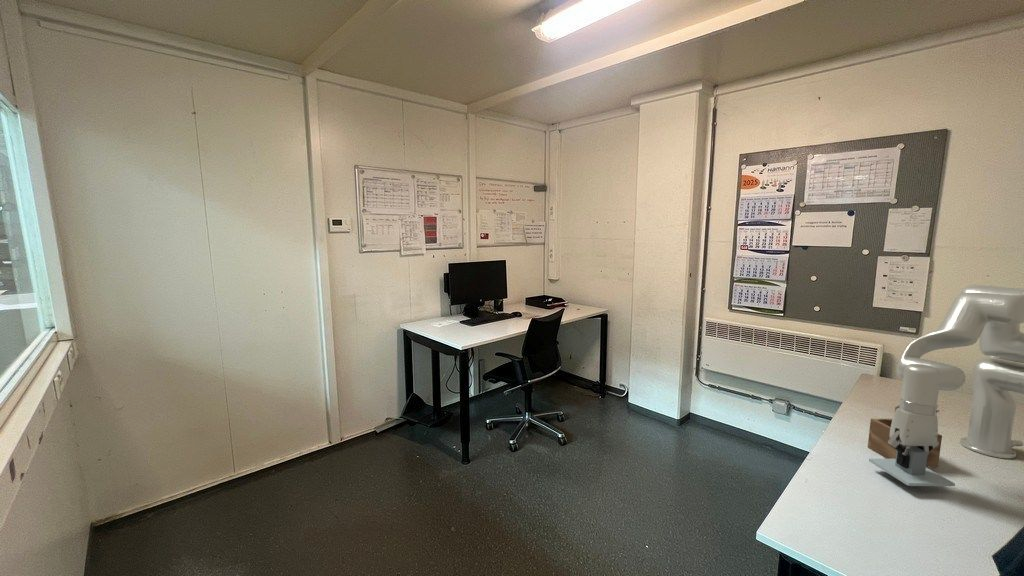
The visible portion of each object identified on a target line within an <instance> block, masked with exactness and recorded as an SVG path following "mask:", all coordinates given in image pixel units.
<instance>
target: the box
mask: <svg viewBox="0 0 1024 576" xmlns="http://www.w3.org/2000/svg"><path fill="white" fill-rule="evenodd" d="M892 419H893V418H870V423H869V431H868V441H867V448H868V449H869V450H871V451H872V452H875V453H876V454H878V455H879V456H881V457H883V458H884V459H896V454H897V451H896V449H895V448H894V447H893V446H892V445H890V444H889V443H888V440H889V439H890V428H891V423H892ZM942 438H943V435H942V434H939V433H938V435H937V441H938V443H939V445H938V446H936V447H934V448H933V449H932V450H931V451H930V452H929V455H928V456H927V462H926V468H929V467H930V468H939V463H940V462H939V461H940V455H941V454H940V453H941V447H942ZM897 443H898V442H897Z"/></svg>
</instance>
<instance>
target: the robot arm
mask: <svg viewBox="0 0 1024 576" xmlns="http://www.w3.org/2000/svg"><path fill="white" fill-rule="evenodd" d="M1023 323H1024V288H1020V287H1019V288H1018V287H1017V288H1015V287H1005V286H993V285H991V286H990V285H977V284H976V285H970V286H969V285H968V286H965V287H964V288H962V289H961V291H960V294H958V295H956V296H955V298H954V299H953V302H951V305H950V307H949V308H948V310H947V312H946V314H945V316H944V318H943V320H942V321H941V323H940V325H939V326H938V329H936V330H933V331H931V332H928V333H926V334H923V335H921V336H920V337H918V338H916V339H914V340H913V341H910V343H909V344H907V346H906V347H905V348H904V350H903V352H902V354H901V356H900V357H899V359H898V362H897V365H896V368H895V369H896V374H897V375H898V377H900V378H901V379H902V383H901V385H902V386H901V393H900V400H899V405H900V408H897V409H896V411H895V410H894V414H893V418H891V419H892V423H891V428H890V439H889V440H888V443H889V444H890V445H892V446H893V447H894V448H895V449H896V451H898V453H897V461H896V462H897V464H899V465H901V466H902V467H904V468H908V466H909V458H910V456H909V455H908V453H909V450H910V447H911V446H916V447H918V448H920V449H922V450H924V451H926V452H928V455H929V452H930V451H931V450H932V449H933V448H934V447H936V446H938V445H939V443H938V441H937V435H938V434H939V424H938V423H939V422H938V421H939V420H938V415H937V409H938V407H939V404H938V398H939V392H940V391H948V392H949V391H950V392H951V391H956V390H958V389H960V388H962V387H963V385H965V382H966V374H965V373H964V371H963V370H962V369H961V368H959V367H958V366H955V365H952V364H948V363H944V362H937V361H934V360H931V359H930V360H929V359H925V358H921V357H922V356H924V355H926V354H928V353H930V352H933V351H937V350H944V349H952V348H953V349H954V348H961V347H962V348H964V347H968V346H973V345H974V344H976V343H977V341H978V345H979V346H978V347H979V350H980V352H981V354H982V355H984V356H986V357H988V358H981V359H978V360H977V361H976V362H975V363H974V364H973V366H972V376H973V377H972V379H973V396H972V401H971V409H970V416H969V422H968V423H969V424H968V431H967V436H966V437H962V438H960V439H959V440H960V441H959V443H960V444H961V446H963V447H965V448H967V449H968V450H970V451H974V452H976V453H979V454H982V455H985V456H989V457H994V458H999V459H1015V458H1016V457H1017V452H1016V451H1015V450H1014V449H1013V448H1014V447H1023V446H1024V443H1023V441H1021V440H1018V439H1016V440H1015V439H1012V436H1013V431H1014V429H1013V428H1014V424H1015V423H1014V422H1015V416H1016V411H1017V403H1016V401H1015V399H1014V397H1013V396H1012V394H1011V393H1010V392H1013V393H1018V394H1021V395H1024V332H1022V331H1021V329H1020V325H1021V324H1023ZM989 357H990V358H989ZM936 408H937V409H936ZM897 442H898V443H897ZM903 445H904V449H903V448H902V446H903ZM928 455H927V456H928Z"/></svg>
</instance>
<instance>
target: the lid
mask: <svg viewBox="0 0 1024 576" xmlns="http://www.w3.org/2000/svg"><path fill="white" fill-rule="evenodd" d="M902 448H903V449H904V445H903V446H902ZM897 453H898V451H897ZM908 455H909V456H910V458H909V466H908V468H904V467H902V466H901V465H899V464H897V462H896V461H897V454H896V459H886V458H868V462H870V463H871V464H872V465H874V466H876V467H878V468H879V469H881V470H882V471H884V472H885V473H887V474H889V475H890V476H892V477H893V478H895V479H897V480H898V481H900V482H901V483H903V484H904V485H906V486H910V487H955V486H956V483H955V482H954V481H952V480H949V479H948V478H946V477H944V476H942V475H941V474H939V473H937V472H935V471H933V470H931V469H930V468H929V467H926V462H927V455H928V452H926V451H924V450H922V449H920V448H918V447H916V446H911V447H910V450H909V453H908Z"/></svg>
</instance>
